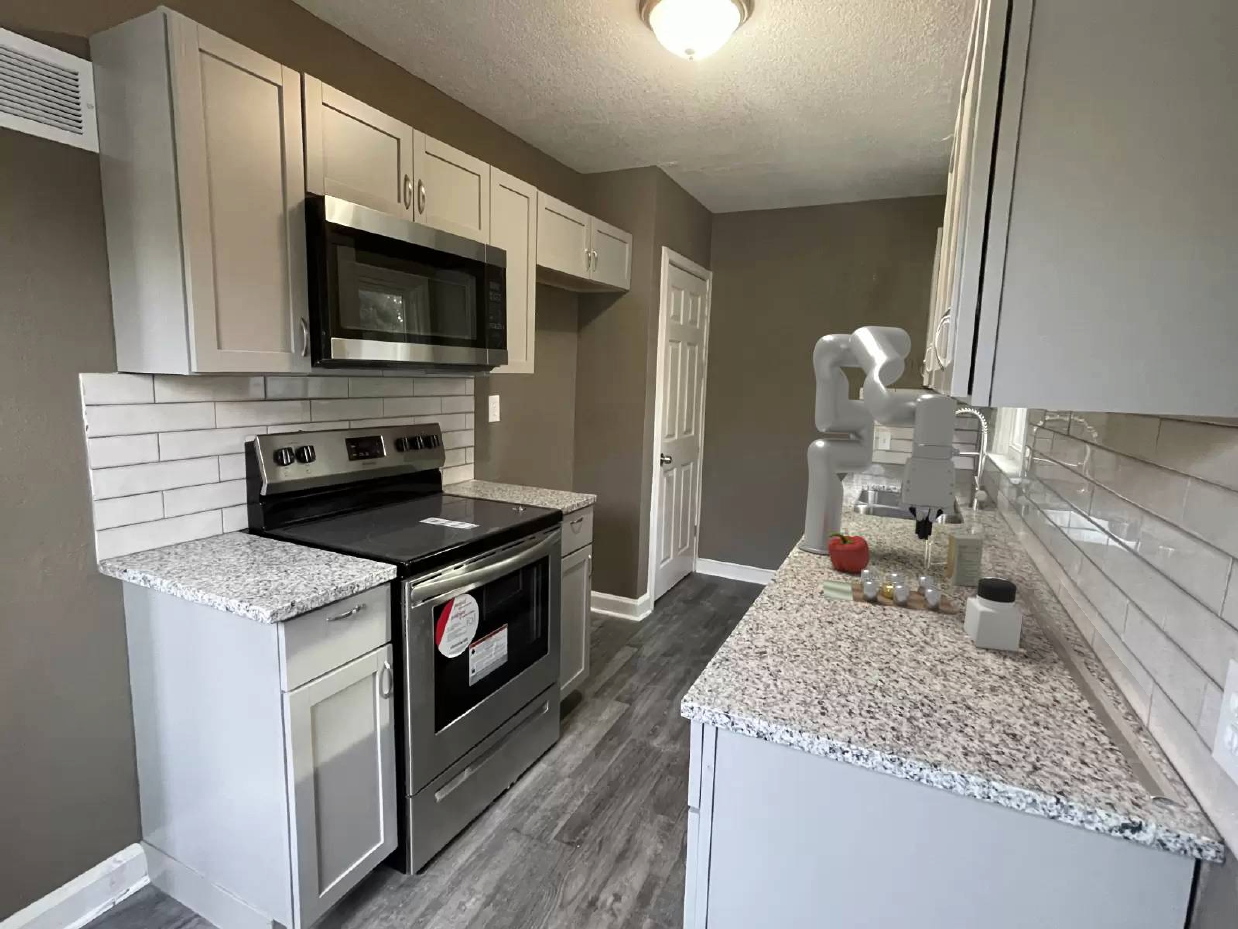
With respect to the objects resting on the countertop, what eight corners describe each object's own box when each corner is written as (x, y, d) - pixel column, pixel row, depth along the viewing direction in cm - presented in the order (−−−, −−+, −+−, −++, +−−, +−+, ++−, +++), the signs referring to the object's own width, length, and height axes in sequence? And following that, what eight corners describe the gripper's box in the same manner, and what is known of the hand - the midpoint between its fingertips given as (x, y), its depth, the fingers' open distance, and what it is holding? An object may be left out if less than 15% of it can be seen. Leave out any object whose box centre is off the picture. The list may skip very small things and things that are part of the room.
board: (823, 582, 148) (823, 579, 148) (944, 598, 140) (945, 594, 140) (823, 600, 135) (823, 596, 135) (956, 618, 128) (957, 614, 128)
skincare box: (970, 583, 151) (976, 534, 150) (979, 589, 147) (985, 539, 146) (943, 581, 152) (948, 532, 150) (950, 587, 148) (956, 537, 146)
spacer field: (859, 584, 145) (861, 567, 144) (930, 593, 140) (932, 576, 140) (863, 601, 133) (864, 583, 133) (940, 611, 129) (942, 593, 128)
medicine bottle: (1019, 652, 112) (1027, 588, 110) (975, 647, 113) (983, 584, 112) (1003, 637, 119) (1011, 576, 117) (962, 632, 120) (969, 572, 119)
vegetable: (834, 578, 152) (838, 538, 150) (816, 565, 162) (819, 527, 160) (877, 578, 153) (880, 538, 152) (855, 565, 163) (859, 528, 162)
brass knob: (880, 592, 140) (881, 581, 140) (902, 595, 139) (903, 584, 138) (882, 598, 136) (883, 587, 135) (905, 601, 134) (906, 590, 134)
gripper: (967, 454, 133) (957, 538, 135) (890, 449, 137) (883, 531, 139) (975, 457, 126) (965, 546, 128) (894, 452, 130) (886, 538, 132)
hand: (922, 538), depth 134 cm, fingers closed
